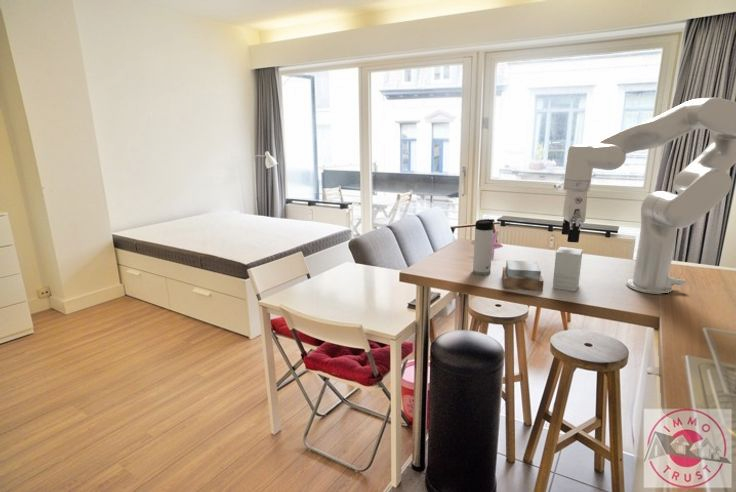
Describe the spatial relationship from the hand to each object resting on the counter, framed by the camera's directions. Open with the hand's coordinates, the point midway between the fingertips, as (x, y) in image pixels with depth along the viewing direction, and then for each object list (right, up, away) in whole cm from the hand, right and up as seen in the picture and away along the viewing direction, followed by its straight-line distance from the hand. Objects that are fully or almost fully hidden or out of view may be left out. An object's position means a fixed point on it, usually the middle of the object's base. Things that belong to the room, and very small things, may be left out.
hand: (569, 238), depth 139 cm
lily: (-16, -7, +40) cm, 44 cm away
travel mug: (-23, -12, +19) cm, 33 cm away
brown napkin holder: (-13, -15, +8) cm, 22 cm away
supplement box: (+1, -16, +5) cm, 17 cm away
